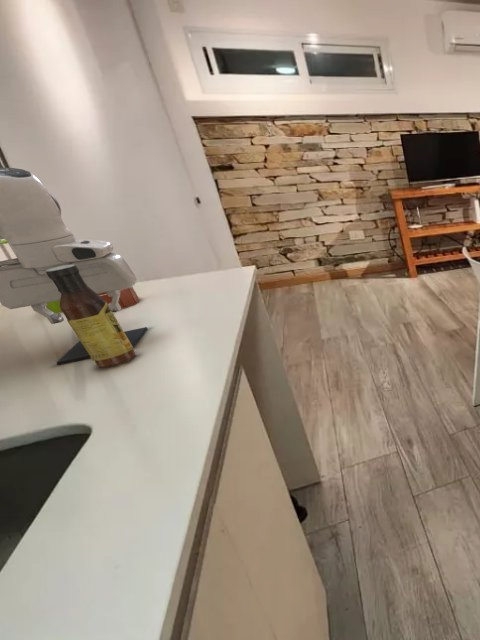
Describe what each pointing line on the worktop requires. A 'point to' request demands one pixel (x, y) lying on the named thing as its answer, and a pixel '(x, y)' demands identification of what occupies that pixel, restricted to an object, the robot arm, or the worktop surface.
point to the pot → (123, 297)
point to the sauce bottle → (91, 318)
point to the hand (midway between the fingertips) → (87, 316)
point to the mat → (80, 352)
